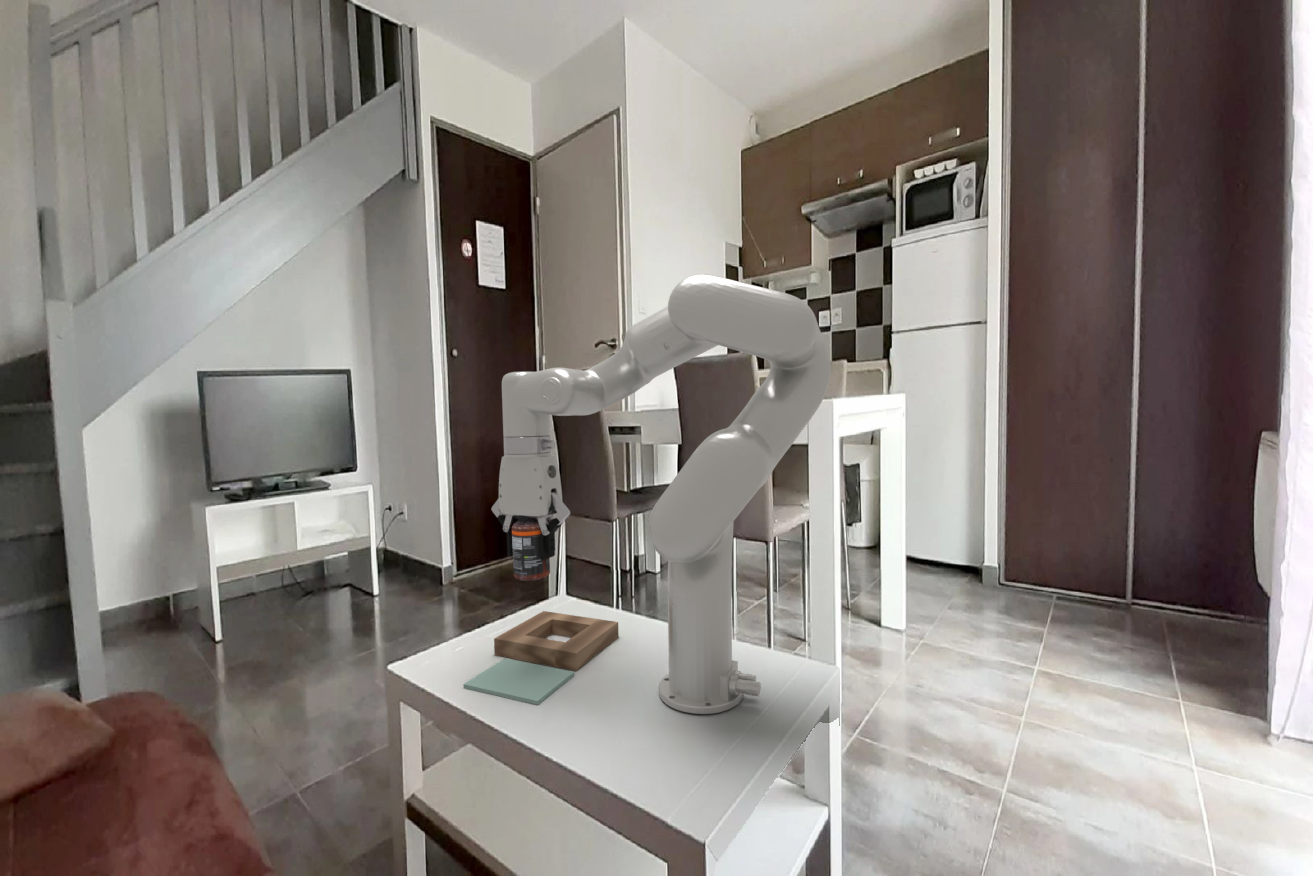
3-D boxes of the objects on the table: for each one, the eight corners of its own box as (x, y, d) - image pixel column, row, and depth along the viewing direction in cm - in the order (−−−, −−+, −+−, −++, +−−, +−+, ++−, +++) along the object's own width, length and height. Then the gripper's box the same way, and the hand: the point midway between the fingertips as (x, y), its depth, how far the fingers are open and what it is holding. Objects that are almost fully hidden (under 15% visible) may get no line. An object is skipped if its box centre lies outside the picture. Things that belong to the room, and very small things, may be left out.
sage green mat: (574, 675, 90) (574, 671, 90) (537, 705, 81) (537, 701, 81) (504, 661, 96) (504, 658, 96) (463, 688, 87) (463, 684, 87)
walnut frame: (618, 637, 106) (618, 622, 106) (576, 671, 92) (576, 653, 92) (543, 625, 113) (543, 611, 112) (494, 655, 99) (494, 638, 99)
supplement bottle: (542, 569, 96) (540, 504, 96) (555, 577, 91) (553, 509, 91) (508, 575, 93) (506, 508, 93) (520, 584, 88) (517, 513, 88)
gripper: (584, 446, 91) (587, 555, 92) (502, 446, 99) (506, 547, 99) (556, 448, 84) (560, 566, 85) (471, 448, 92) (475, 557, 93)
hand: (531, 555), depth 92 cm, fingers closed on supplement bottle, 6 cm apart
